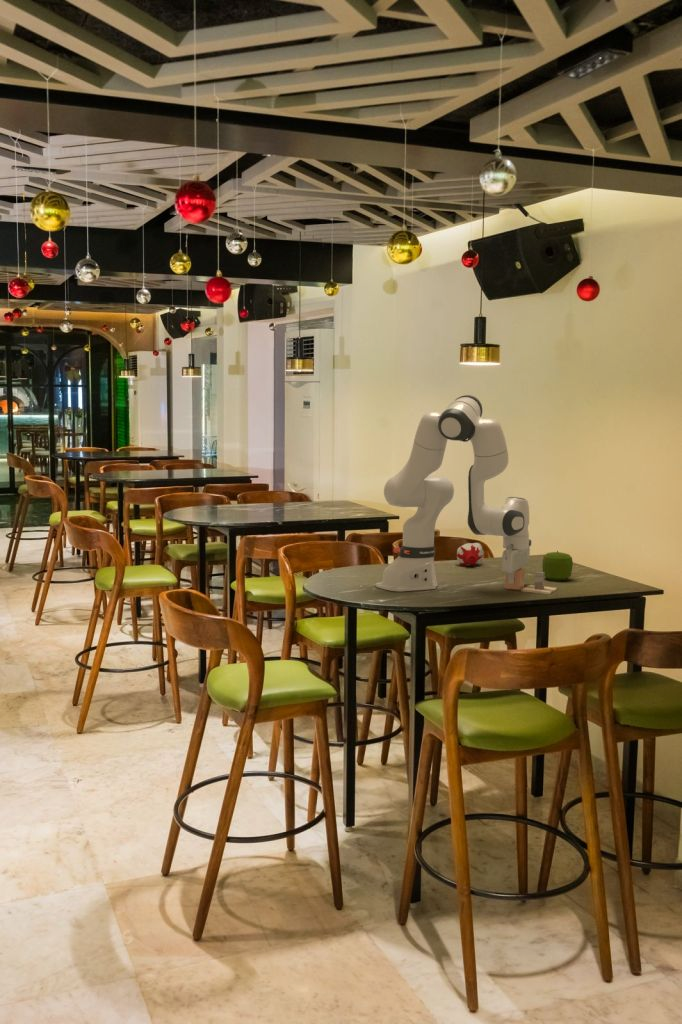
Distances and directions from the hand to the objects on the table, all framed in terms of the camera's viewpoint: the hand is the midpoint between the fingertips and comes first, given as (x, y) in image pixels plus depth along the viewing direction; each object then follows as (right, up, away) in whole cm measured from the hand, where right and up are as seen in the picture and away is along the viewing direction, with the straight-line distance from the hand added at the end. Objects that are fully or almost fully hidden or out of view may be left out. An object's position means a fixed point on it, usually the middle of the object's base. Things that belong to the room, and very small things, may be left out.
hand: (514, 581), depth 323 cm
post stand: (+8, -3, -4) cm, 9 cm away
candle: (-9, +3, +48) cm, 49 cm away
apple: (+19, -1, +18) cm, 26 cm away
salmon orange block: (0, -2, 0) cm, 2 cm away
